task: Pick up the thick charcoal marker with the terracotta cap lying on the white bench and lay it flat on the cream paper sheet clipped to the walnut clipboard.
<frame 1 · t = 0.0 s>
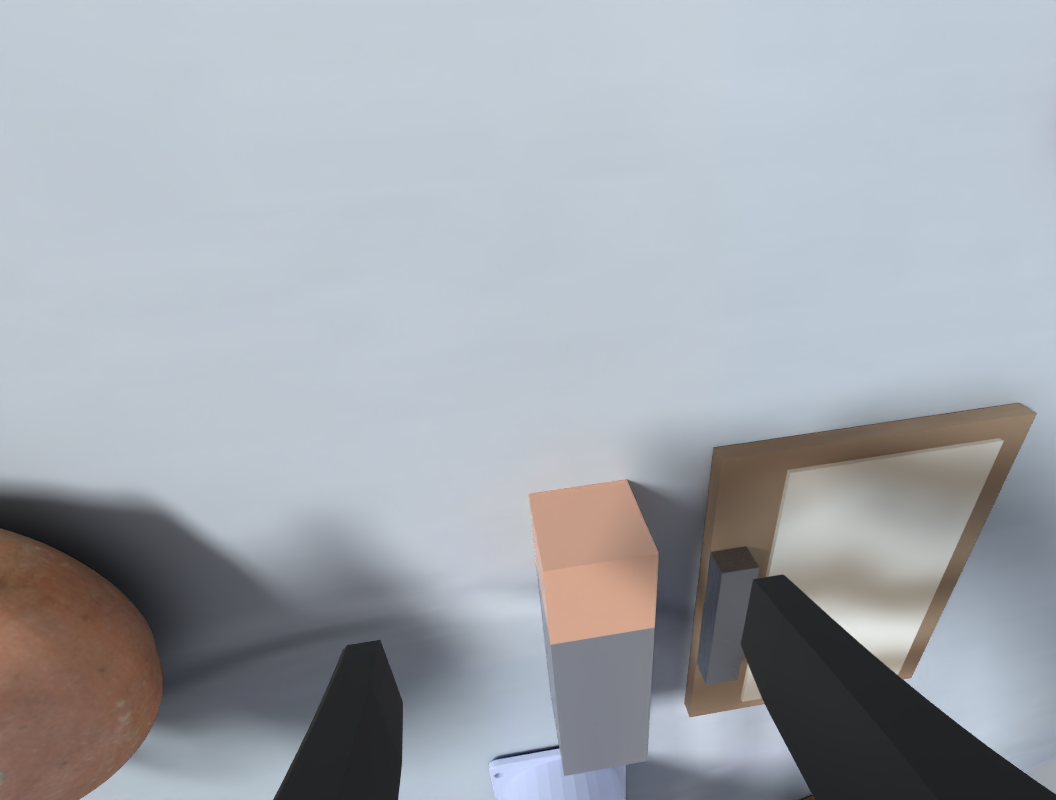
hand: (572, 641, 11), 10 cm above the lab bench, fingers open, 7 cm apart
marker: (583, 601, 26), on the lab bench
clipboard: (825, 576, 27), on the lab bench
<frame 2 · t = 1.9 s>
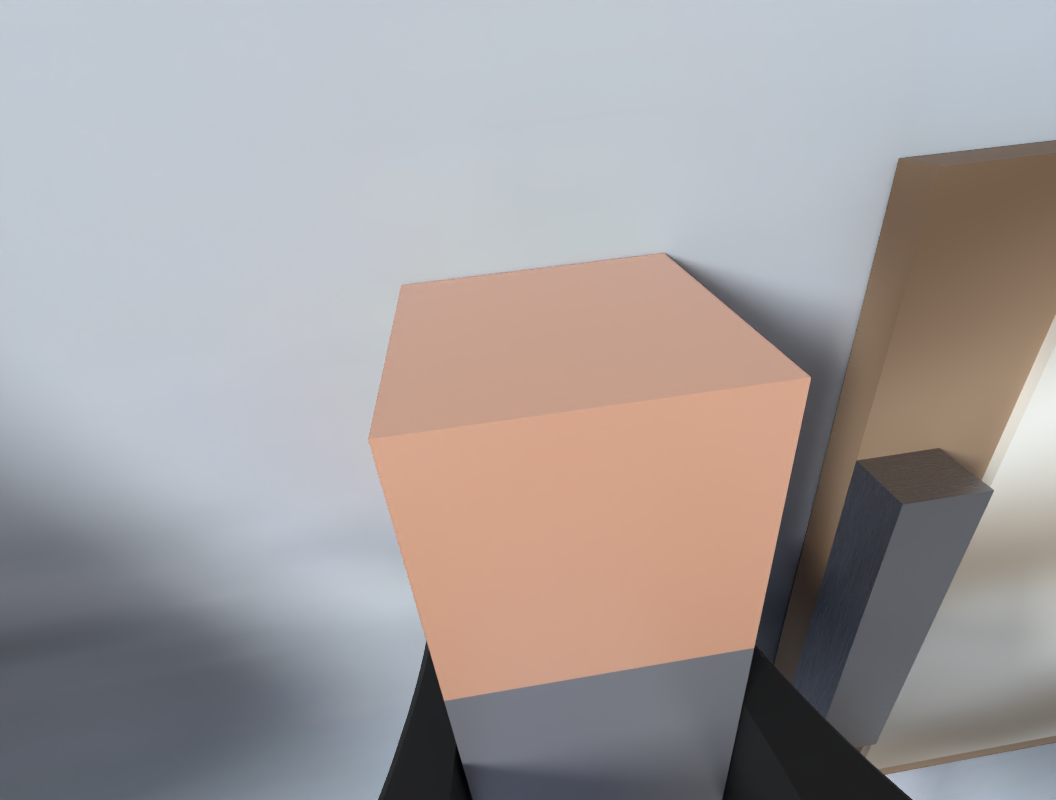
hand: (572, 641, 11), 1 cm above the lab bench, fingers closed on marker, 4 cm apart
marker: (559, 583, 12), on the lab bench, touching gripper
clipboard: (1055, 533, 13), on the lab bench
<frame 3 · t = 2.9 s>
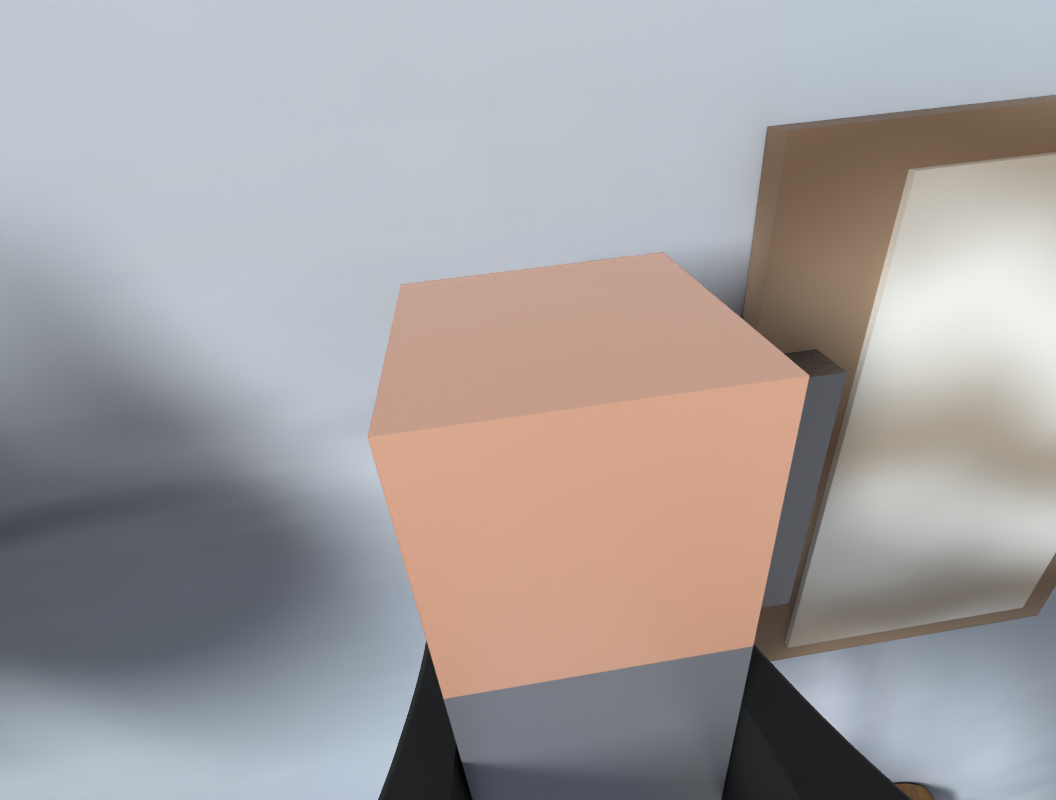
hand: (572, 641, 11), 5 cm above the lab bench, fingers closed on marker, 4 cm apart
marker: (559, 582, 12), point 4 cm above the lab bench, touching gripper
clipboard: (932, 435, 17), on the lab bench
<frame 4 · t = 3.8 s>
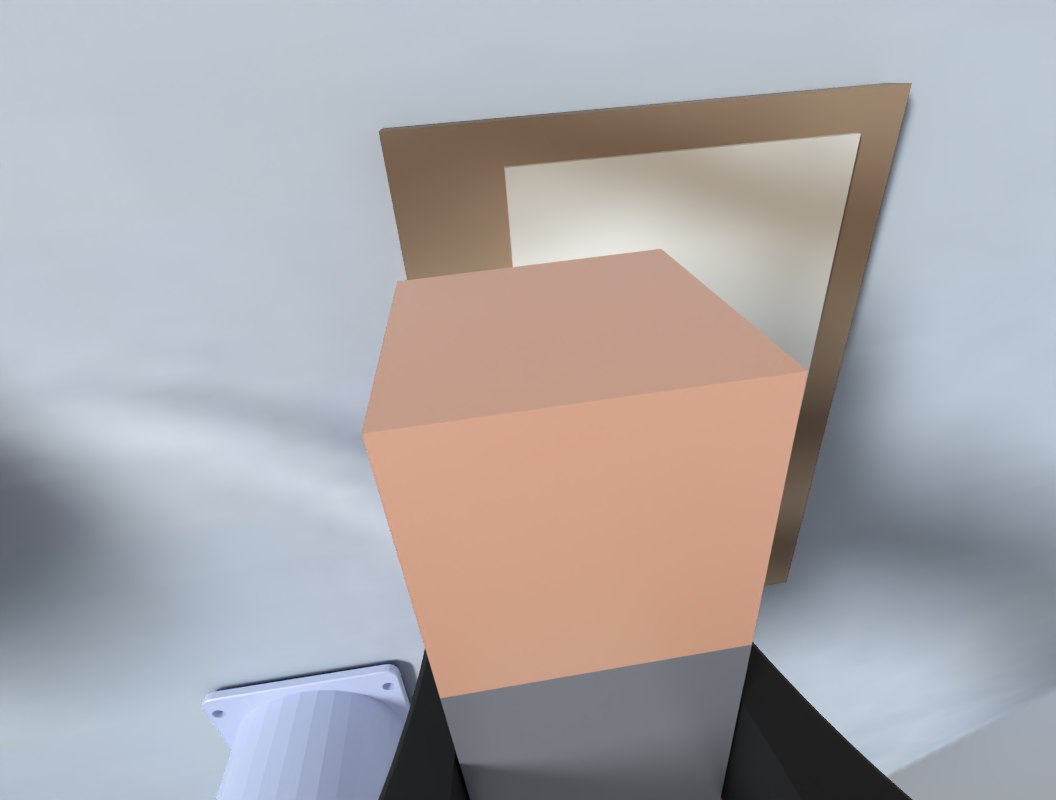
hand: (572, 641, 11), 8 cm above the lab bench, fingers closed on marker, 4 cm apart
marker: (557, 581, 12), point 7 cm above the lab bench, touching gripper
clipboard: (634, 408, 18), on the lab bench
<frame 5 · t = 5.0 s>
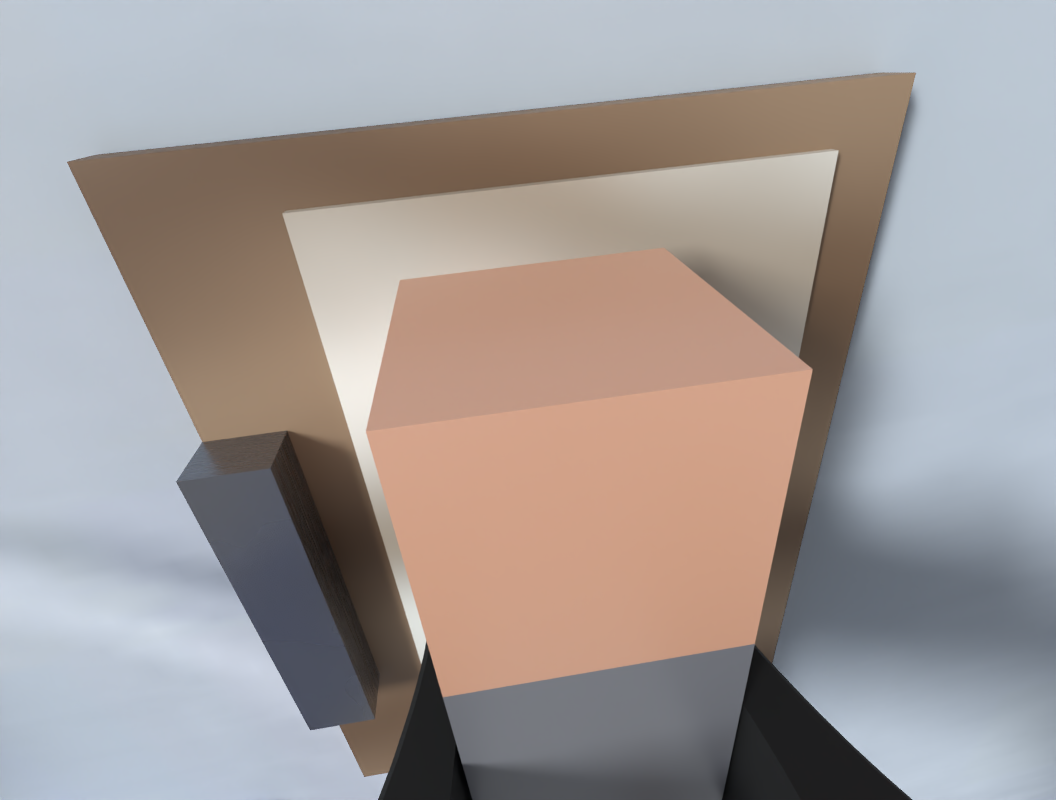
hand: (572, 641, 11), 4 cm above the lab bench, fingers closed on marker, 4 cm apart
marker: (559, 580, 12), point 2 cm above the lab bench, touching gripper
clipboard: (544, 516, 14), on the lab bench
when the fingers open (3 cm above the lab bench, at t = 5.8 s): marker stays where it is, resting on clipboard.
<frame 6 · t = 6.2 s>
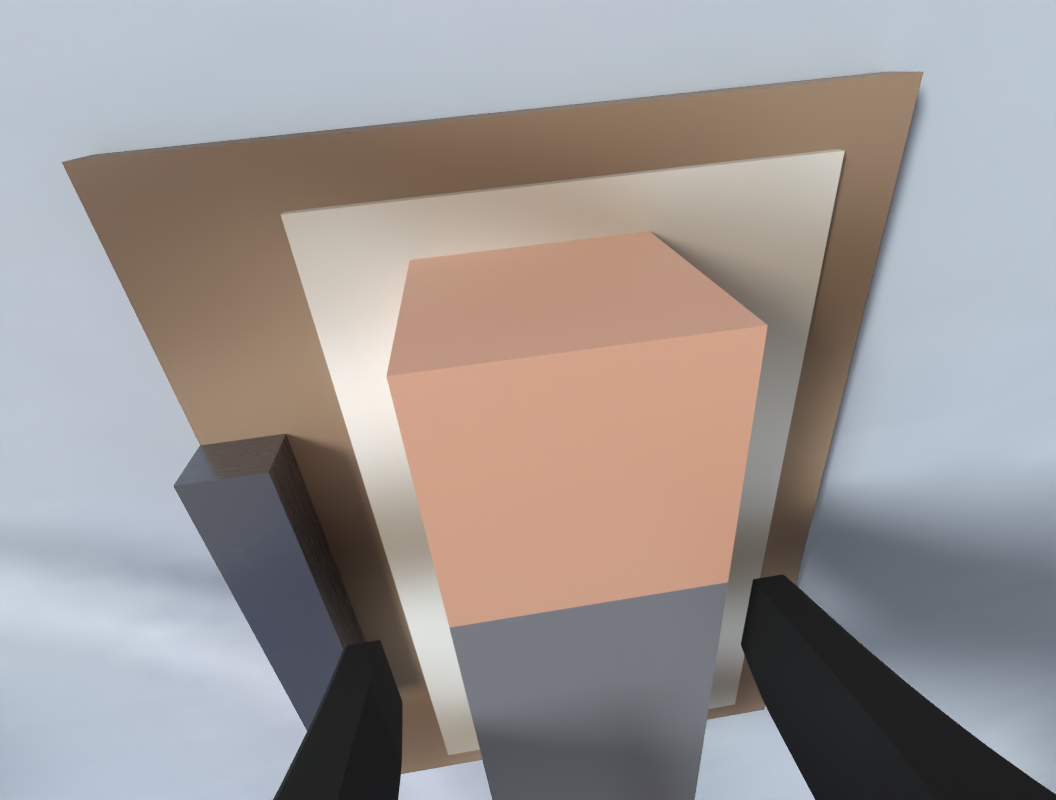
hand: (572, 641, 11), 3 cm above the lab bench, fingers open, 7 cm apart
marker: (555, 546, 13), point 1 cm above the lab bench, touching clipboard
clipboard: (546, 519, 14), on the lab bench
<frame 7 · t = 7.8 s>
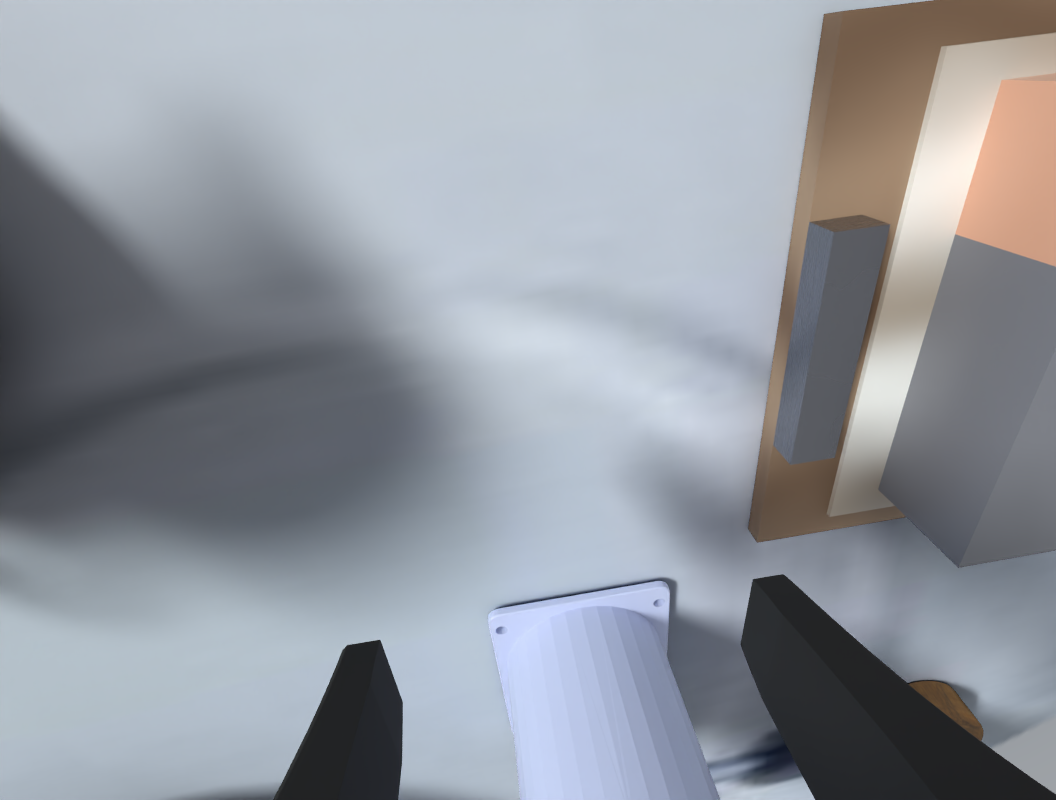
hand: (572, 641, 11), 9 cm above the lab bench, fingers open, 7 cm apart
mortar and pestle: (897, 709, 34), on the lab bench
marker: (985, 317, 18), point 1 cm above the lab bench, touching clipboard
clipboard: (957, 308, 19), on the lab bench
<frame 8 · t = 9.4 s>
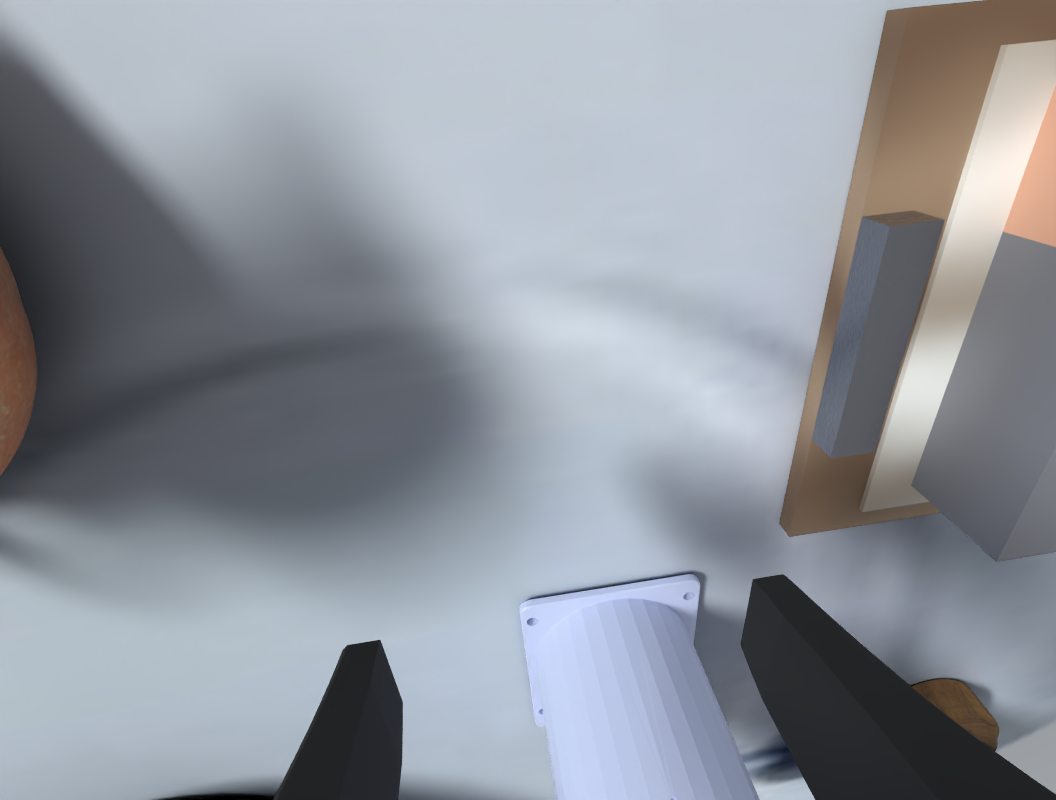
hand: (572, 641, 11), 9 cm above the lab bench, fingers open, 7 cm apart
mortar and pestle: (912, 707, 34), on the lab bench
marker: (1026, 315, 18), point 1 cm above the lab bench, touching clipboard
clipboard: (997, 306, 19), on the lab bench
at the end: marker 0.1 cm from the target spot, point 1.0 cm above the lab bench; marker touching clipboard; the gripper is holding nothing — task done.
